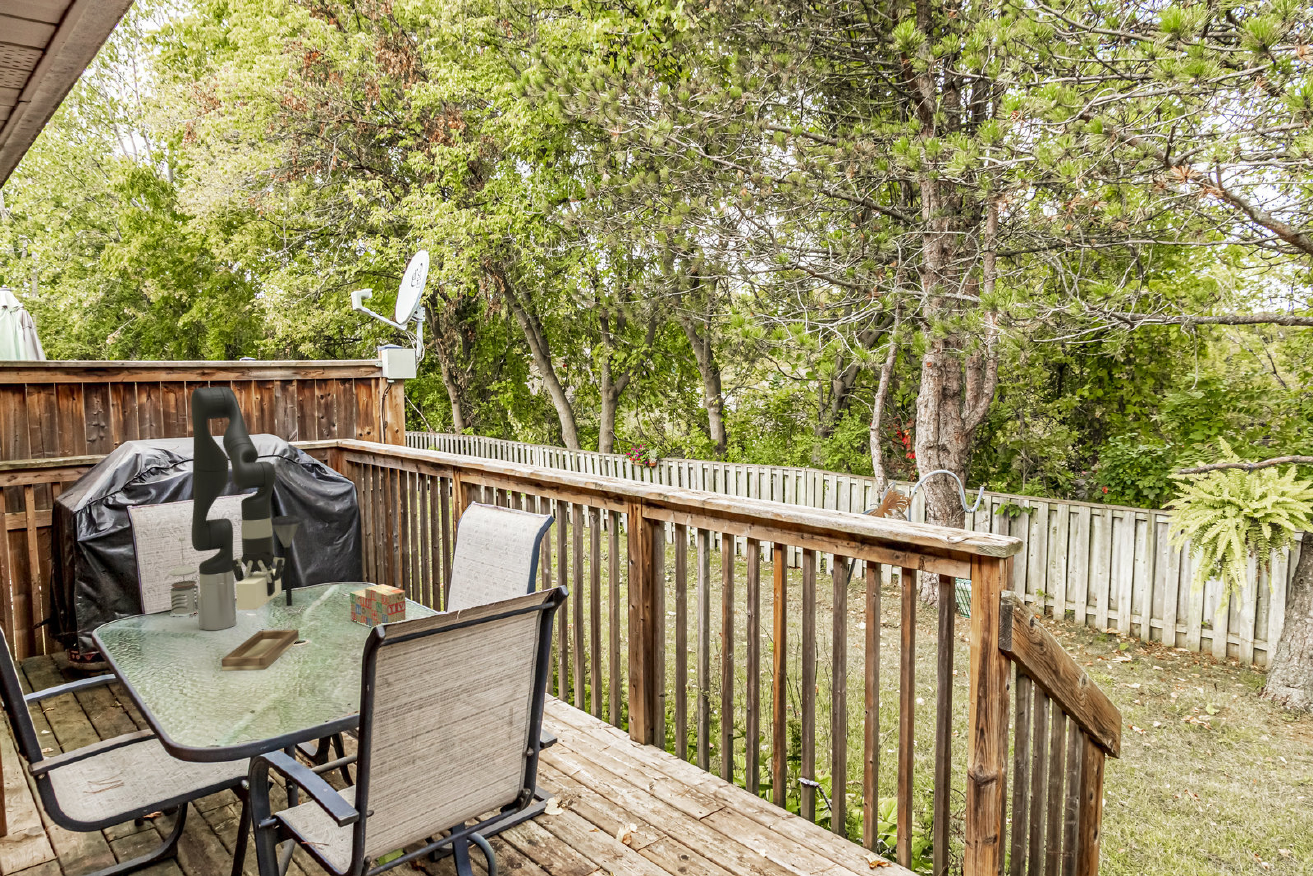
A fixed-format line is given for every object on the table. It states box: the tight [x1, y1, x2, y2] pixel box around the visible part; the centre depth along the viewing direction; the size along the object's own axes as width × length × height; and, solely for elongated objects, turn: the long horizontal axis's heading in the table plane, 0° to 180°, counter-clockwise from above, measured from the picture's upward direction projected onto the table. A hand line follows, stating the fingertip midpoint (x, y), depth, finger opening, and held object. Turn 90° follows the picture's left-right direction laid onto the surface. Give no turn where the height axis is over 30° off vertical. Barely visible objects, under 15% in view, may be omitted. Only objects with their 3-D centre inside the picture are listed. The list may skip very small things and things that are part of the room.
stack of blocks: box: [349, 583, 407, 627], centre depth 243 cm, size 21×6×12 cm, turn 50°
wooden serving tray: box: [221, 629, 300, 671], centre depth 218 cm, size 11×23×3 cm, turn 4°
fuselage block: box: [235, 568, 282, 611], centre depth 216 cm, size 5×16×7 cm, turn 3°
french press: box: [168, 536, 201, 614], centre depth 256 cm, size 10×12×25 cm
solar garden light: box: [271, 514, 306, 607], centre depth 264 cm, size 12×12×30 cm
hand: (259, 595), depth 217 cm, fingers closed on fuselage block, 5 cm apart
